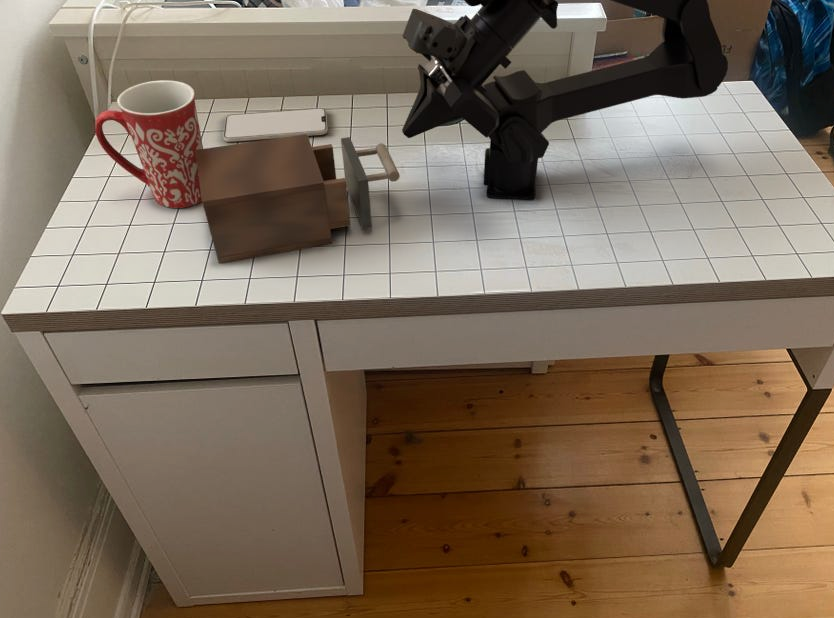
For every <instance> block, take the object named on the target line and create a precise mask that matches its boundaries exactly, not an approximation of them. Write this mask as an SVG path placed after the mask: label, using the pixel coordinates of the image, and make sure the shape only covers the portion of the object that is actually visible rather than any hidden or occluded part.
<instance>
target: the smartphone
mask: <svg viewBox="0 0 834 618" xmlns="http://www.w3.org/2000/svg"><path fill="white" fill-rule="evenodd" d="M327 118H328V116H327V109H326V108H324V107H315V108H312V107H311V108H301V109H300V108H299V109H286V110H273V111H261V112H259V111H258V112H249V113H246V112H245V113H233V114H228V115H227V116H225V119H224V127H223V134H222V135H223V136H222V137H223V140H224V141H225V142H226V143H227V142H228V143H230V142H232V143H233V142H245V141H260V140H269V139H276V138H283V137H290V136H297V135H304V134H307V135H308V137H309V136H322V135H325V134H327V133H328V130H329V129H328V119H327Z"/></svg>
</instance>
